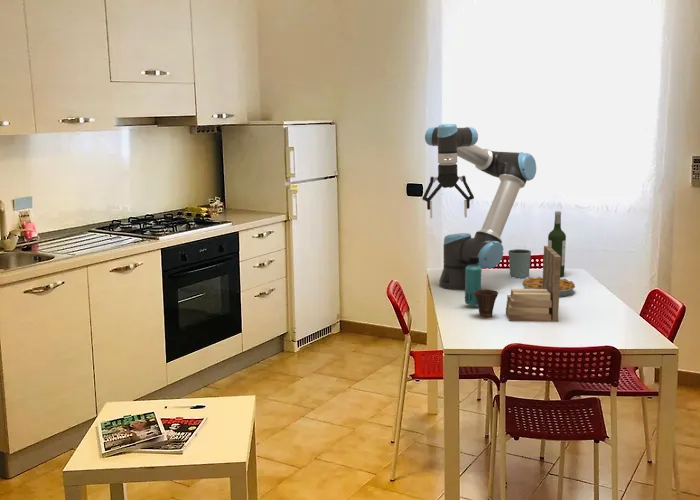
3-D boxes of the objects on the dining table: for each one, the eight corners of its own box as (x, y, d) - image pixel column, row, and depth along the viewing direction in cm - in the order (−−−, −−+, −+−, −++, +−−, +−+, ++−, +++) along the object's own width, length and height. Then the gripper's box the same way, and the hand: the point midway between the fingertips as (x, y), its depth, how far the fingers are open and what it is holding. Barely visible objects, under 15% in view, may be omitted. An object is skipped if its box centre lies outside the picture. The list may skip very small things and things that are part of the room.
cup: (484, 319, 273) (483, 292, 272) (469, 317, 281) (469, 290, 280) (503, 317, 277) (503, 290, 276) (488, 314, 285) (488, 288, 284)
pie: (524, 284, 330) (525, 273, 330) (576, 288, 323) (577, 276, 322) (518, 296, 310) (519, 284, 309) (573, 300, 303) (574, 288, 302)
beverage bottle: (482, 305, 295) (483, 255, 292) (479, 309, 289) (480, 258, 285) (466, 304, 297) (467, 254, 294) (462, 308, 291) (463, 257, 288)
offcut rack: (501, 305, 295) (503, 245, 290) (546, 305, 294) (549, 245, 289) (509, 320, 273) (511, 256, 269) (558, 321, 272) (560, 256, 267)
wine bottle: (545, 273, 351) (548, 210, 345) (562, 274, 350) (565, 210, 344) (547, 277, 343) (550, 212, 338) (565, 277, 342) (568, 212, 337)
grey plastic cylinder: (532, 278, 341) (533, 253, 338) (510, 279, 341) (510, 253, 339) (527, 274, 351) (528, 248, 348) (505, 274, 351) (506, 249, 349)
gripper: (415, 165, 291) (416, 219, 295) (480, 163, 288) (480, 218, 293) (415, 164, 298) (417, 216, 302) (479, 162, 296) (479, 214, 300)
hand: (448, 217), depth 298 cm, fingers open, 13 cm apart
